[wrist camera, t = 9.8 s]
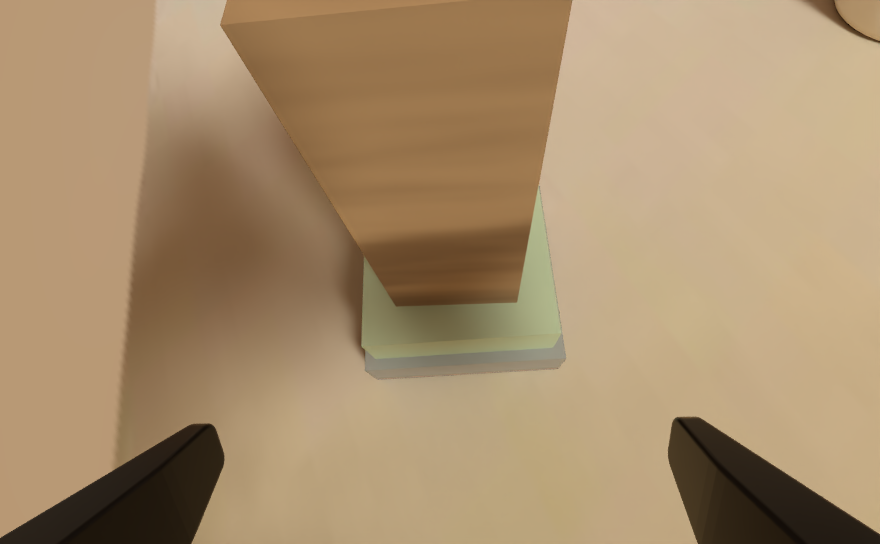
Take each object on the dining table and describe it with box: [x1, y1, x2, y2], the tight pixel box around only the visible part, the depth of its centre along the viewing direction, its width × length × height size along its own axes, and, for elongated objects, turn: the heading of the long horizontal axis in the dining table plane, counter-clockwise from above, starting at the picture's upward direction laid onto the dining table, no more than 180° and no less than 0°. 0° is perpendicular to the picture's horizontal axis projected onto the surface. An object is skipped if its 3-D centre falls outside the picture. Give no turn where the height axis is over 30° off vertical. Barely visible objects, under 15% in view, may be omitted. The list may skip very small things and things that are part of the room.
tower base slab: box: [365, 186, 566, 380], centre depth 22 cm, size 9×9×2 cm
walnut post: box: [220, 0, 572, 307], centre depth 13 cm, size 5×5×13 cm
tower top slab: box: [361, 185, 561, 359], centre depth 20 cm, size 8×8×2 cm
